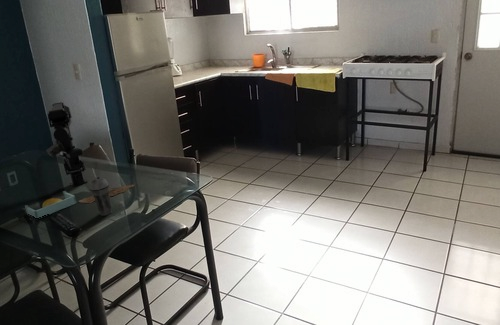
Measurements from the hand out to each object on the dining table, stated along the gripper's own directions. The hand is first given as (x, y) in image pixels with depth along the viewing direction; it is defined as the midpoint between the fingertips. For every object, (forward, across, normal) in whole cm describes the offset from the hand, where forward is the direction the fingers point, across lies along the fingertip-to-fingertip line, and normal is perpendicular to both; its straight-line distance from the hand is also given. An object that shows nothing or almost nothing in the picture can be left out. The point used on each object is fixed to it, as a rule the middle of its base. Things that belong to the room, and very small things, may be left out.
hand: (72, 168), depth 191 cm
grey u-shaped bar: (+12, +8, -16) cm, 22 cm away
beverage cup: (+12, +36, -6) cm, 38 cm away
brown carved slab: (+13, +16, +6) cm, 22 cm away
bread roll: (+12, +7, -15) cm, 21 cm away
